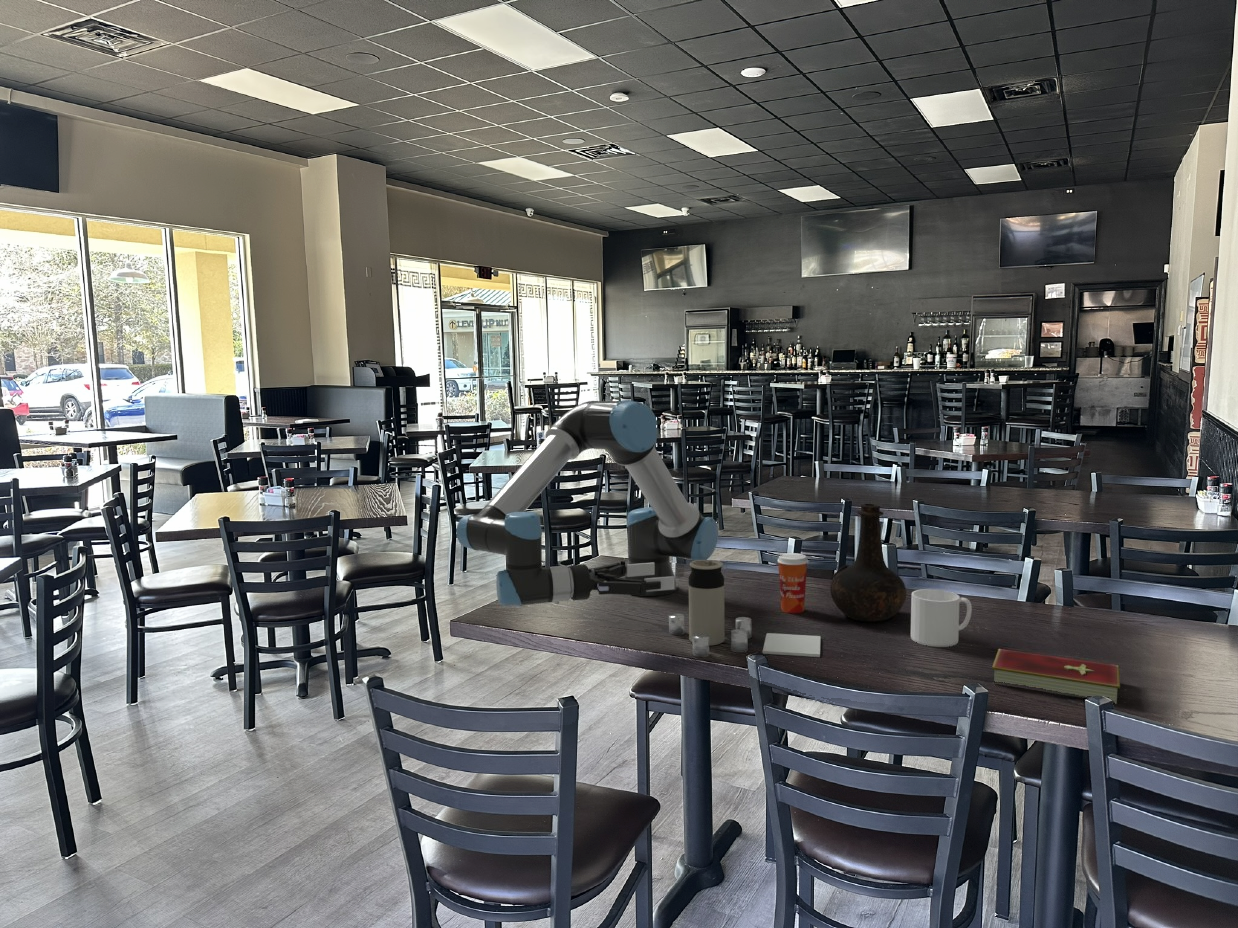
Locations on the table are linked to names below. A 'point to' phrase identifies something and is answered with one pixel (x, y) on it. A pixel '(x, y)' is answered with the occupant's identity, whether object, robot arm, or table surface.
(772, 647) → the rubber mat
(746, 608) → the table surface
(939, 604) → the mug
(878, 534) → the glass bottle
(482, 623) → the table surface
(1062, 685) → the hardcover book
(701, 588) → the travel mug
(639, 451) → the robot arm
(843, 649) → the table surface
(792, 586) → the paper cup
